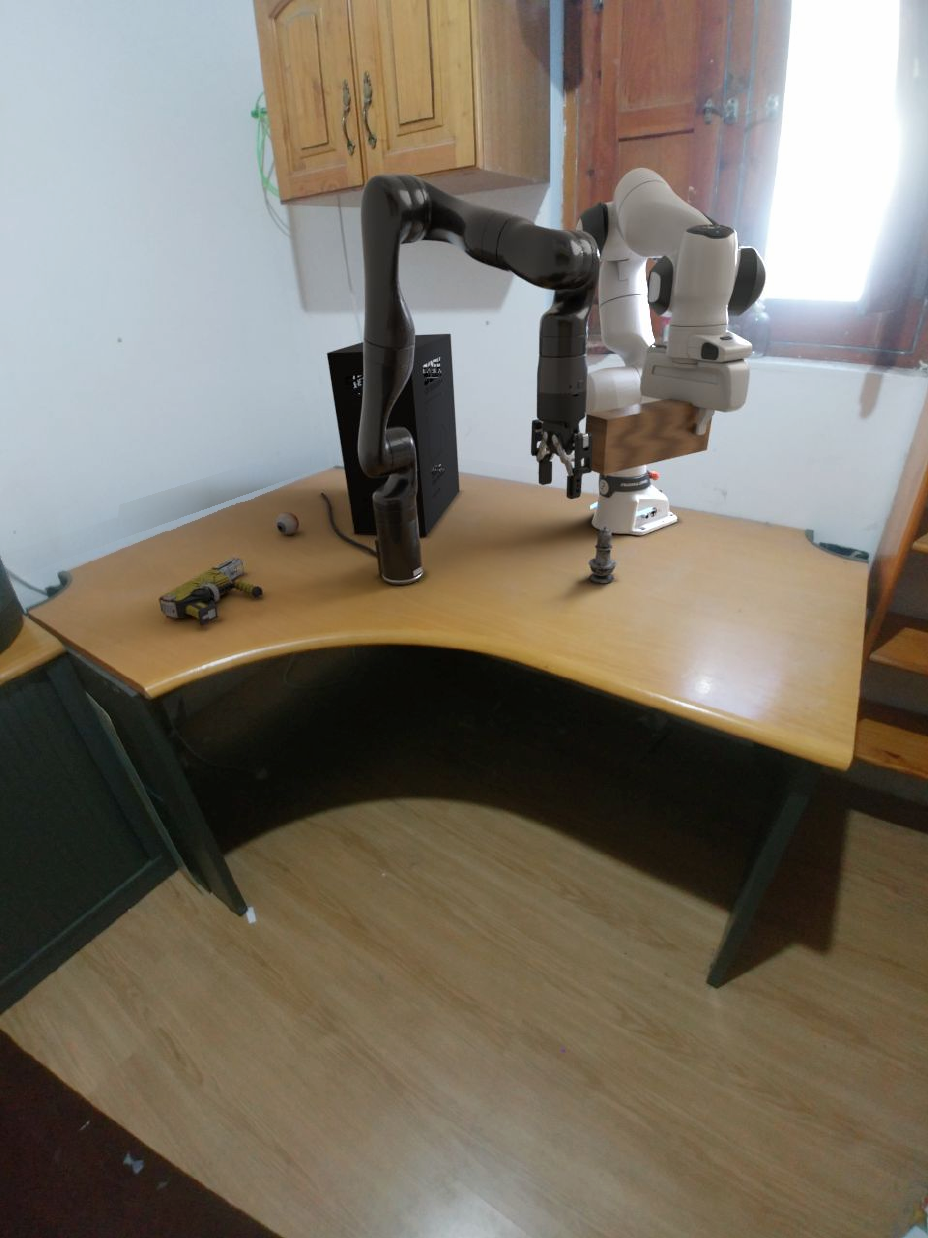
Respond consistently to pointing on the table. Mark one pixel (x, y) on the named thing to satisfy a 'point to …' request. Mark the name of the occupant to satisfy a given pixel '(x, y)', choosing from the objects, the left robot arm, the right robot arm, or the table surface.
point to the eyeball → (287, 523)
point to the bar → (644, 434)
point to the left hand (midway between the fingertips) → (558, 490)
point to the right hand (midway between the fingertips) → (683, 430)
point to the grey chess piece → (602, 559)
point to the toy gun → (205, 592)
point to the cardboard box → (416, 409)
